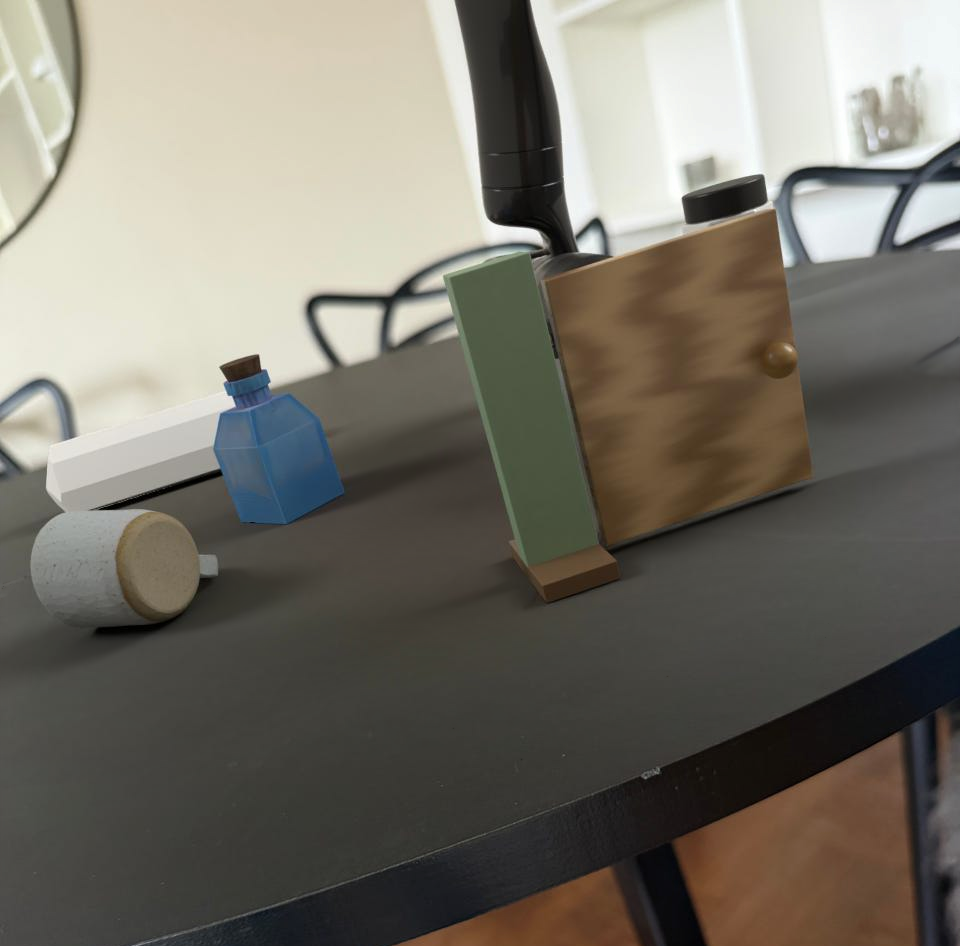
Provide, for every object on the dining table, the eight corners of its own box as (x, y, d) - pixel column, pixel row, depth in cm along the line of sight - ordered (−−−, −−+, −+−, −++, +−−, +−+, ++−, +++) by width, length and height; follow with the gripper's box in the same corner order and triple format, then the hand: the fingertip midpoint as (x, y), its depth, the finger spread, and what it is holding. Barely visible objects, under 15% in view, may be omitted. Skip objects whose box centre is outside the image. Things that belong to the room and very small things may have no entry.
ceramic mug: (151, 643, 62) (100, 526, 59) (59, 648, 66) (7, 539, 63) (252, 571, 70) (212, 465, 67) (166, 579, 74) (124, 479, 71)
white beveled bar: (31, 496, 97) (274, 419, 99) (28, 447, 101) (261, 374, 103) (67, 546, 103) (295, 473, 105) (63, 498, 107) (283, 429, 109)
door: (805, 473, 57) (767, 208, 51) (831, 485, 54) (793, 207, 48) (602, 541, 56) (539, 279, 50) (618, 556, 53) (554, 282, 48)
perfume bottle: (344, 492, 82) (294, 344, 77) (286, 524, 79) (229, 370, 74) (299, 492, 87) (248, 352, 82) (241, 522, 83) (184, 376, 78)
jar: (779, 290, 109) (761, 170, 104) (792, 302, 101) (774, 173, 97) (694, 312, 111) (673, 196, 106) (702, 325, 103) (679, 200, 98)
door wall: (577, 535, 59) (507, 249, 53) (621, 578, 52) (545, 253, 45) (512, 557, 59) (433, 272, 52) (546, 603, 52) (459, 280, 45)
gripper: (484, 281, 74) (542, 296, 59) (654, 228, 75) (756, 229, 60) (509, 382, 77) (571, 422, 62) (673, 330, 78) (775, 357, 63)
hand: (662, 327), depth 61 cm, fingers closed
